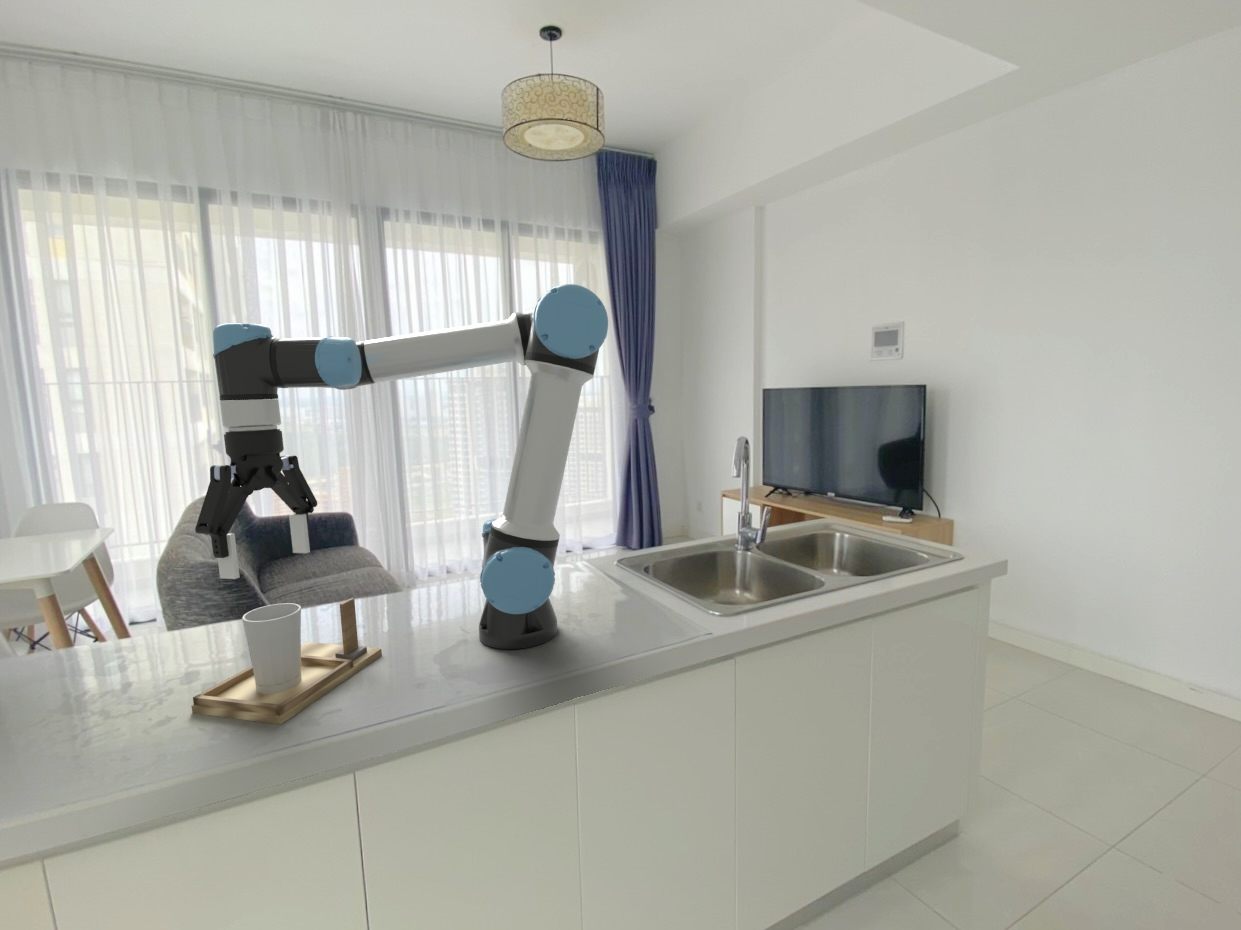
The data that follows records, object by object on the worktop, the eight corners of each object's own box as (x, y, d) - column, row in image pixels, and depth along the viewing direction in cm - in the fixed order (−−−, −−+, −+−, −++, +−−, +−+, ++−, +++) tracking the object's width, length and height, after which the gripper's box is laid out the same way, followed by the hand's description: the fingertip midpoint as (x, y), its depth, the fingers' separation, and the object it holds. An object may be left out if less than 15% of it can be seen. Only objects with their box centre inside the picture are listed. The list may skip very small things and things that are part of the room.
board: (381, 654, 106) (377, 595, 104) (281, 724, 84) (273, 650, 82) (307, 648, 110) (302, 590, 108) (192, 712, 87) (183, 641, 86)
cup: (281, 698, 89) (274, 623, 87) (237, 694, 90) (229, 620, 89) (318, 674, 96) (312, 604, 95) (276, 670, 98) (270, 602, 96)
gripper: (295, 424, 101) (308, 543, 104) (150, 435, 77) (171, 589, 80) (332, 423, 99) (344, 544, 102) (195, 434, 75) (215, 592, 78)
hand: (268, 564), depth 91 cm, fingers open, 13 cm apart
